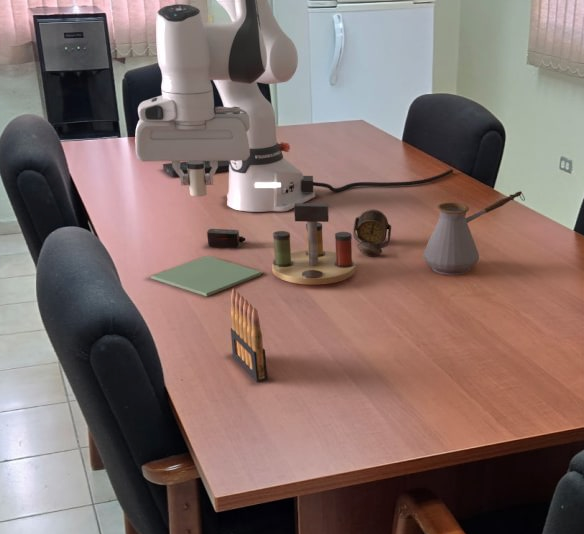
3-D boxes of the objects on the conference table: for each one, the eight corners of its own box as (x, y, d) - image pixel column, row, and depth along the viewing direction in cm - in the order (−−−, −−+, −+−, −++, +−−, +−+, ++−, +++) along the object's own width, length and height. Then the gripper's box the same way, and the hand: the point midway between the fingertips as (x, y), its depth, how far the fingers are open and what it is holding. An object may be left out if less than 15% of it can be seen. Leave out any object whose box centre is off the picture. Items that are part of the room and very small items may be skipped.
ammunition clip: (232, 356, 156) (225, 287, 150) (243, 354, 157) (237, 285, 151) (256, 382, 148) (250, 310, 142) (267, 379, 149) (262, 308, 143)
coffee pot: (434, 281, 189) (436, 206, 181) (415, 262, 198) (416, 190, 190) (530, 271, 196) (536, 198, 188) (507, 253, 205) (512, 183, 197)
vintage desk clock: (407, 217, 206) (366, 201, 207) (383, 228, 195) (340, 211, 196) (398, 248, 209) (358, 232, 211) (375, 261, 198) (333, 244, 200)
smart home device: (161, 163, 249) (234, 155, 259) (162, 169, 250) (234, 162, 260) (172, 170, 244) (245, 163, 253) (172, 177, 245) (246, 169, 254)
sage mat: (207, 258, 195) (207, 255, 195) (262, 274, 188) (261, 271, 188) (151, 278, 184) (150, 275, 184) (206, 296, 177) (206, 293, 177)
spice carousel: (255, 269, 188) (250, 203, 181) (317, 250, 199) (314, 188, 192) (310, 291, 179) (307, 223, 172) (372, 270, 190) (371, 205, 183)
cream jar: (186, 194, 177) (182, 162, 174) (200, 191, 180) (197, 159, 177) (196, 197, 176) (193, 165, 173) (210, 194, 178) (207, 162, 175)
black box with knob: (241, 249, 200) (240, 234, 199) (207, 247, 200) (206, 232, 199) (246, 242, 204) (244, 227, 203) (213, 240, 204) (211, 225, 203)
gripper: (247, 103, 174) (253, 179, 181) (131, 103, 170) (142, 180, 177) (248, 110, 169) (254, 188, 176) (128, 110, 165) (139, 190, 172)
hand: (197, 184), depth 177 cm, fingers closed on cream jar, 3 cm apart
